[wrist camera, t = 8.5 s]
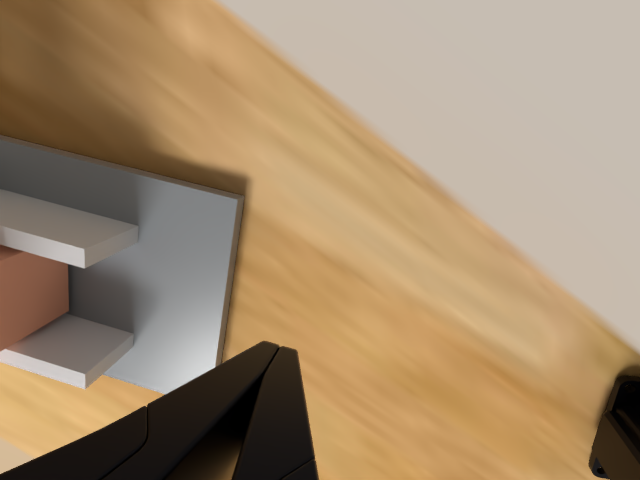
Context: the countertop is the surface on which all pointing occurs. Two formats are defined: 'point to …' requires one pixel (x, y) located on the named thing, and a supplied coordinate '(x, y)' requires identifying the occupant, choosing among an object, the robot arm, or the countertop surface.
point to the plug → (29, 293)
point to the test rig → (121, 266)
